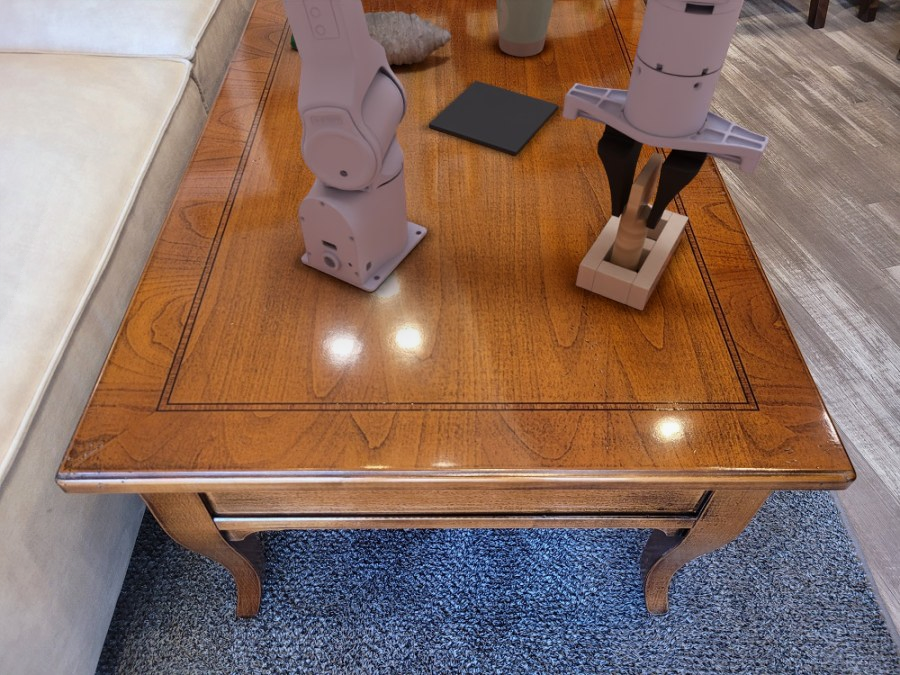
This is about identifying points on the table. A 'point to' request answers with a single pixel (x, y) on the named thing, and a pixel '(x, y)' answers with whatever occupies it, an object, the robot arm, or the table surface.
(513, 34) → the coffee cup
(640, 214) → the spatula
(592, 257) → the frame
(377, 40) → the seashell
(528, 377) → the table surface
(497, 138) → the mat
